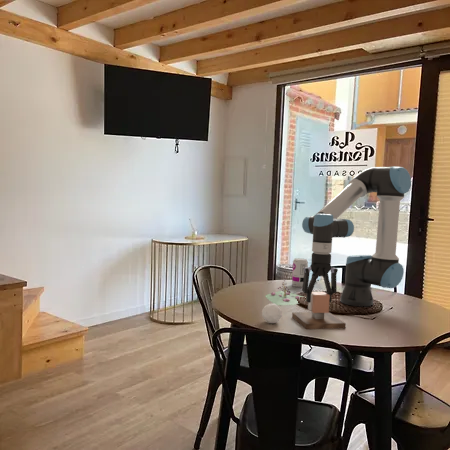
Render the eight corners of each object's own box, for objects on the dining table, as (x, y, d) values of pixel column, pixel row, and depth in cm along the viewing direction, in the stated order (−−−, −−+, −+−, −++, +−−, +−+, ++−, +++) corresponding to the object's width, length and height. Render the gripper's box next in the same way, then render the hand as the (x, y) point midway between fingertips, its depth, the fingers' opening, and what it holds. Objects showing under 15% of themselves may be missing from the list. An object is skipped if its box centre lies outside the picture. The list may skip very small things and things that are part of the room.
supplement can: (291, 286, 244) (293, 259, 243) (292, 283, 252) (293, 257, 251) (306, 288, 243) (308, 260, 242) (306, 284, 251) (307, 258, 250)
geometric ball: (270, 331, 174) (263, 317, 170) (263, 318, 181) (256, 304, 177) (287, 321, 174) (280, 307, 170) (280, 309, 181) (273, 296, 177)
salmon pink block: (322, 308, 181) (323, 291, 181) (328, 312, 175) (329, 295, 175) (308, 308, 180) (308, 291, 179) (313, 312, 174) (314, 295, 173)
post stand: (328, 316, 187) (329, 297, 187) (345, 328, 172) (346, 307, 171) (292, 317, 184) (293, 298, 184) (306, 329, 169) (307, 308, 168)
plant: (309, 308, 202) (310, 288, 201) (263, 305, 204) (264, 286, 203) (304, 295, 227) (305, 278, 226) (263, 293, 228) (264, 276, 228)
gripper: (301, 253, 170) (298, 313, 172) (348, 254, 174) (344, 312, 176) (295, 251, 178) (292, 307, 179) (340, 252, 181) (336, 307, 183)
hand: (318, 310), depth 177 cm, fingers closed on salmon pink block, 6 cm apart
